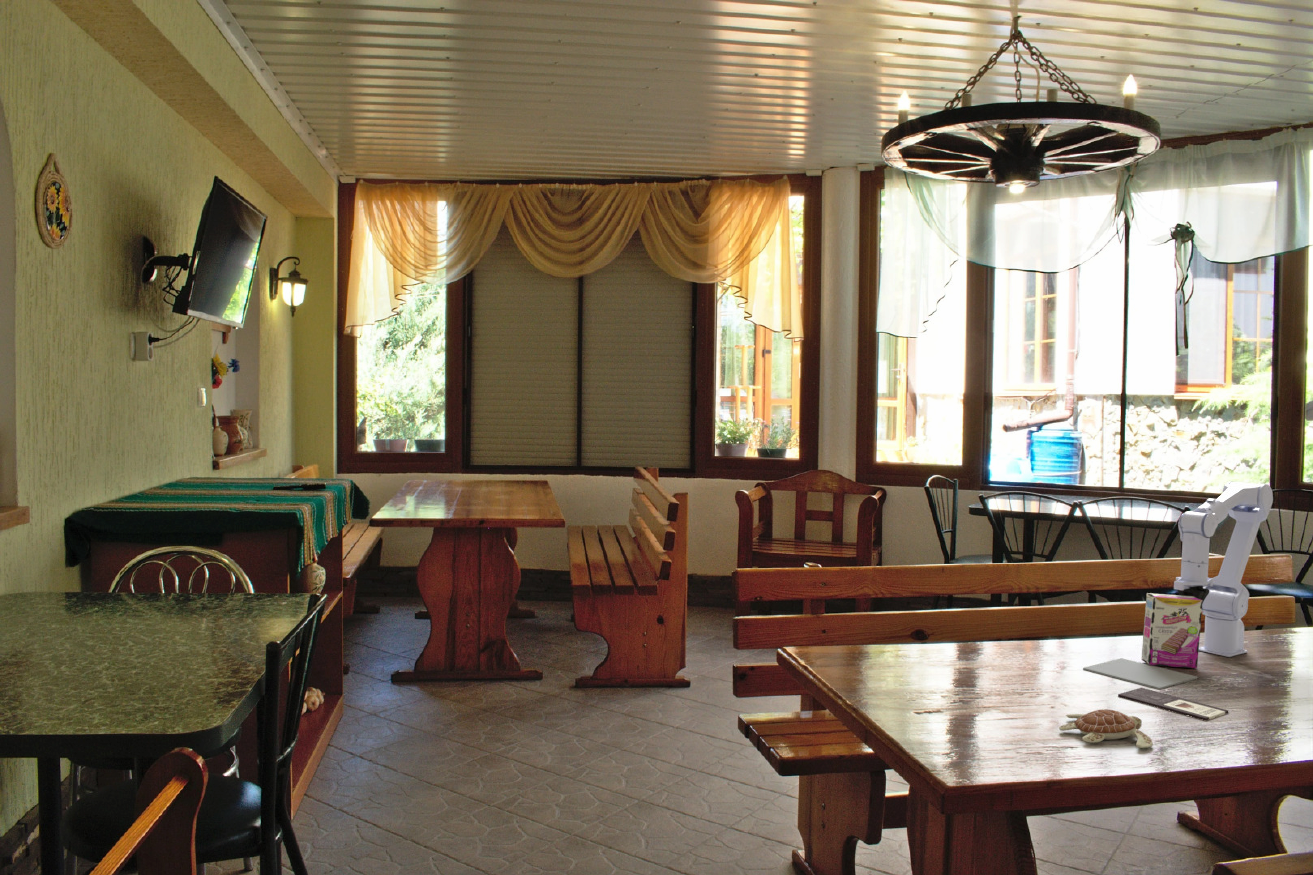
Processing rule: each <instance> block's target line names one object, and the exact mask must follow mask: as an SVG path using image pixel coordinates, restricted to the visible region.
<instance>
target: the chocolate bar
mask: <svg viewBox="0 0 1313 875" xmlns="http://www.w3.org/2000/svg"><path fill="white" fill-rule="evenodd" d="M1117 697H1119V698H1122V699H1125V700H1128V701H1129V700H1130V701H1133V702H1136V703H1139V702H1140V704H1144V705H1146V706H1150V707H1154V706H1155V707H1154V708H1157V707H1158V709H1161V710H1164V709H1165V710H1164V711H1168V710H1170V711H1169V712H1172V711H1173V712H1172V713H1175V712H1176V713H1177V714H1180V715H1182V716H1186V715H1189V716H1188V717H1190V716H1192V717H1191V718H1193V717H1194V719H1197V720H1200V719H1203V720H1202V721H1204V720H1207V721H1209V720H1208V719H1210V720H1213V719H1215V717H1216V718H1218V717H1221V716H1223V715H1227V714H1229V710H1228V709H1225V708H1222V707H1217V706H1215V705H1214V706H1213V705H1210V704H1209V705H1208V704H1205V703H1201V702H1198V701H1195V700H1194V701H1193V700H1190V699H1188V698H1187V699H1186V698H1182V697H1179V696H1175V695H1171V694H1168V693H1164V692H1160V691H1156V690H1151V689H1148V688H1145V687H1139V688H1135V689H1131V690H1128V691H1124V692H1121V693H1118V694H1117ZM1176 713H1175V714H1176Z"/></svg>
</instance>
